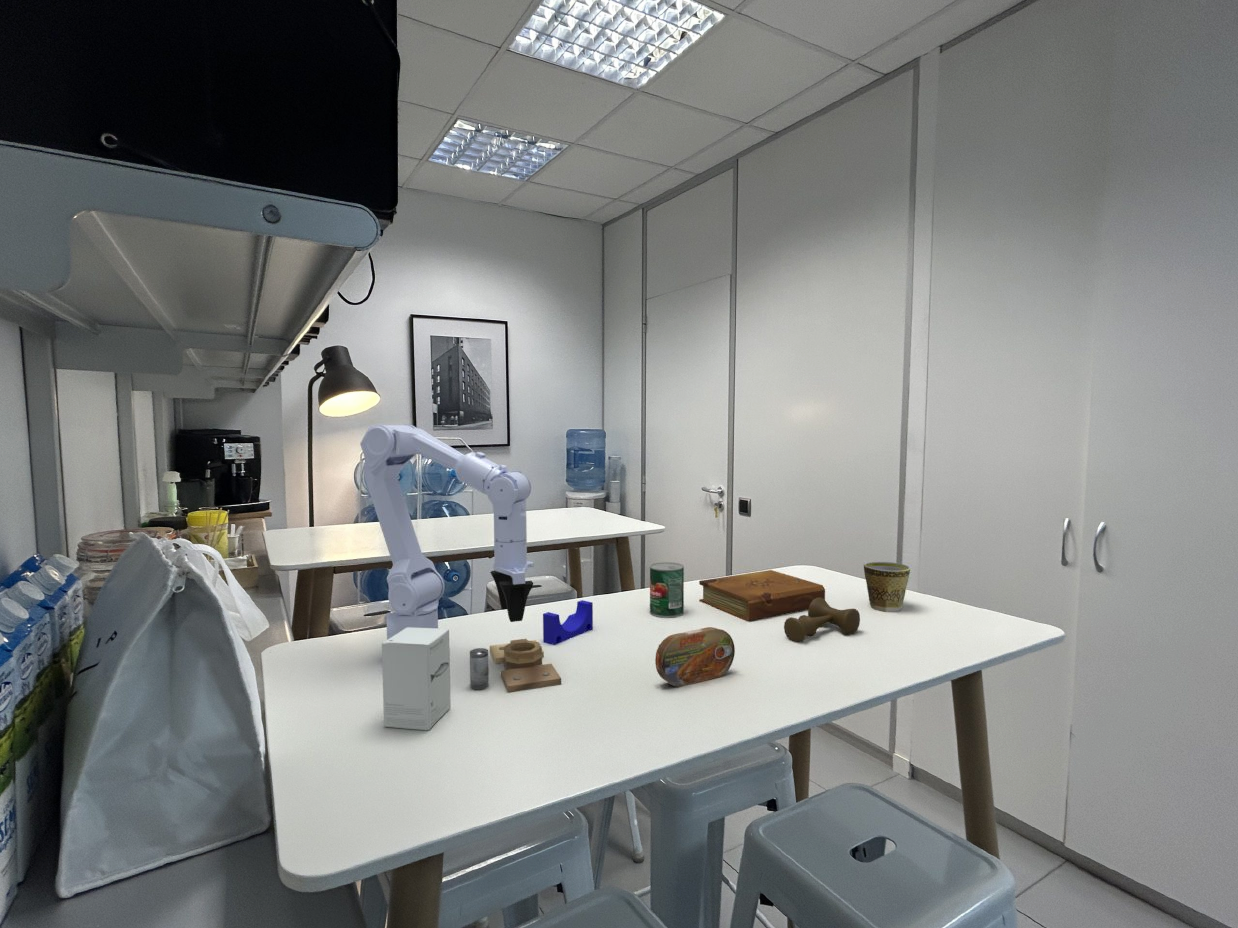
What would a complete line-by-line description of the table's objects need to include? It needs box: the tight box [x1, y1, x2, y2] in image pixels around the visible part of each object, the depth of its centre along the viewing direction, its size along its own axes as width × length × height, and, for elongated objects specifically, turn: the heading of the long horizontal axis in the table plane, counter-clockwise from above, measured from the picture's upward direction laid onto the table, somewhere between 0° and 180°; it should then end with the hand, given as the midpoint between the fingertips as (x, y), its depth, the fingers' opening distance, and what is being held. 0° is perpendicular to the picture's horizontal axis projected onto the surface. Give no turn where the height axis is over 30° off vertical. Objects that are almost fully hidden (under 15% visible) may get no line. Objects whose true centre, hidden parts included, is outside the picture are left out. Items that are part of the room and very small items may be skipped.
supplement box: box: [381, 627, 452, 731], centre depth 92 cm, size 7×7×13 cm
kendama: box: [783, 598, 861, 644], centre depth 129 cm, size 6×10×20 cm
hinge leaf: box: [489, 638, 545, 665], centre depth 115 cm, size 9×13×4 cm
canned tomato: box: [649, 561, 685, 619], centre depth 143 cm, size 8×8×11 cm
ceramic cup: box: [863, 561, 911, 613], centre depth 147 cm, size 13×10×10 cm
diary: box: [698, 569, 826, 622], centre depth 150 cm, size 23×19×6 cm
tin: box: [654, 626, 736, 688], centre depth 106 cm, size 15×3×8 cm, turn 117°
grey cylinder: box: [469, 647, 490, 691], centre depth 103 cm, size 3×3×6 cm
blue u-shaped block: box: [542, 599, 594, 646], centre depth 129 cm, size 12×4×6 cm, turn 143°
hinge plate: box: [500, 657, 562, 693], centre depth 109 cm, size 9×13×2 cm
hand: (511, 614), depth 111 cm, fingers open, 7 cm apart
